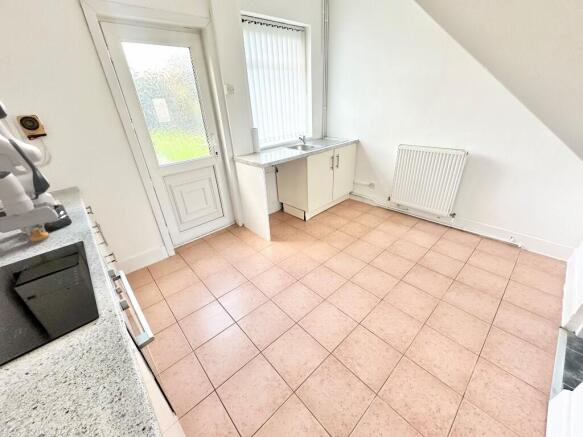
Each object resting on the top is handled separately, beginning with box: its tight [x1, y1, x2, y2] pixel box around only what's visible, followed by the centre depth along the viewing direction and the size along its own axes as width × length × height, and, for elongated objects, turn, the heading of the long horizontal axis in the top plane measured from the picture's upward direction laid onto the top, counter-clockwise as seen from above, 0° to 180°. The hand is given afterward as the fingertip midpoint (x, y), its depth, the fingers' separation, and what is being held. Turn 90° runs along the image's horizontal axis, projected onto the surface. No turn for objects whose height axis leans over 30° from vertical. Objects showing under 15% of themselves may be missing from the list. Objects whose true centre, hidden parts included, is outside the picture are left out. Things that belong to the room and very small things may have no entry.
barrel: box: [40, 203, 73, 233], centre depth 126 cm, size 12×12×10 cm
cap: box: [28, 228, 50, 243], centre depth 116 cm, size 7×7×5 cm
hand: (37, 233), depth 115 cm, fingers open, 3 cm apart
